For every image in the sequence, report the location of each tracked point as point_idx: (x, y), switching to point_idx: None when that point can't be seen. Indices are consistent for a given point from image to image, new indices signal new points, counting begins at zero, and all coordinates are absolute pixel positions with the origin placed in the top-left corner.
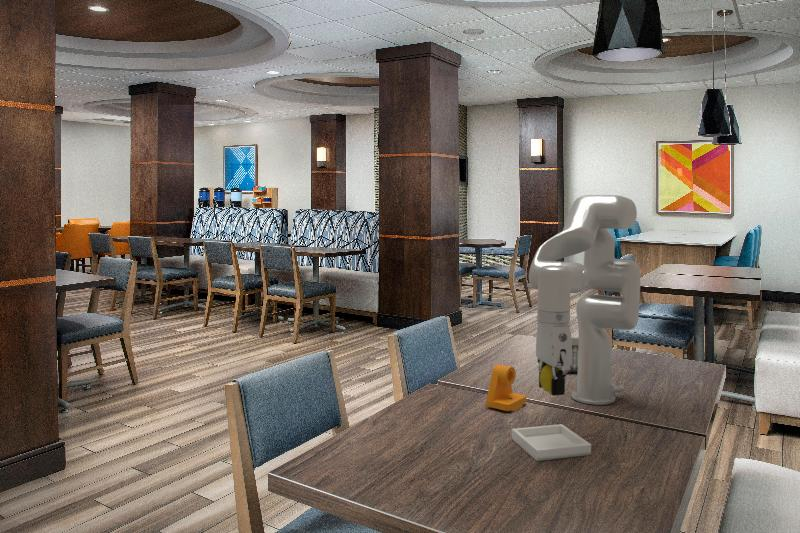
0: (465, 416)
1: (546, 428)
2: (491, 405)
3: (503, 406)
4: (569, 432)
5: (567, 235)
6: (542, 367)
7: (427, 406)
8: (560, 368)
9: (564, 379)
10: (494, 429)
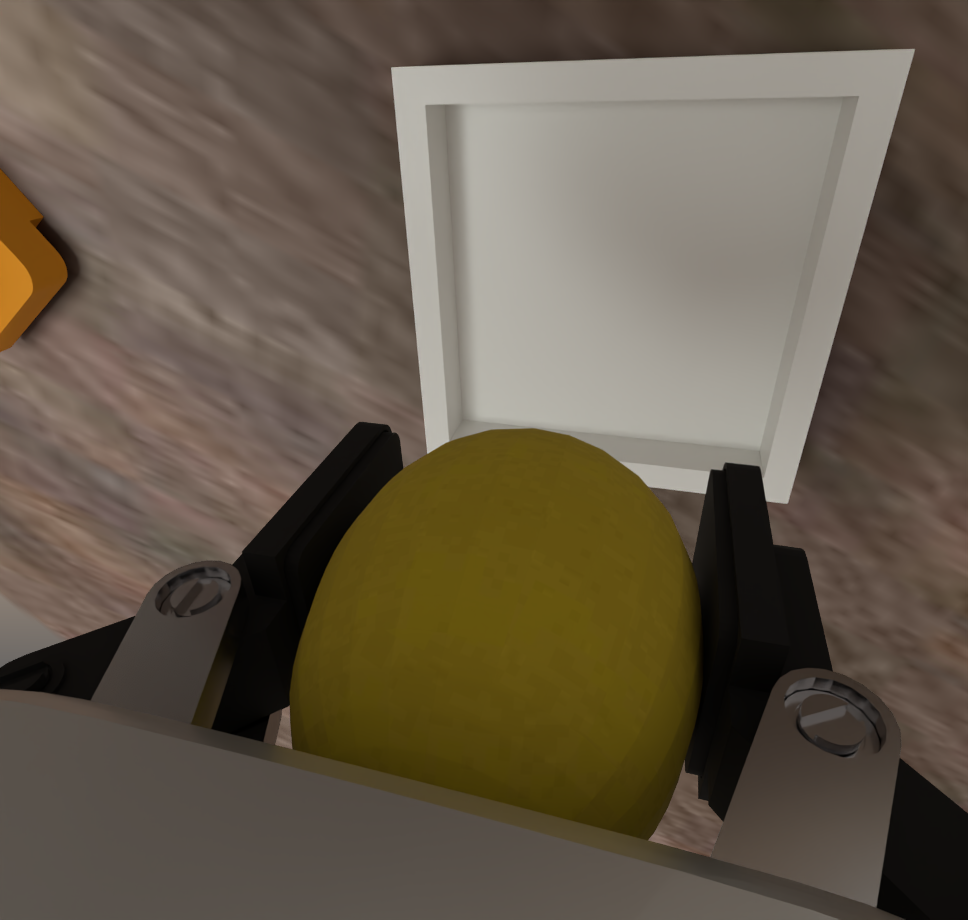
0: (149, 482)
1: (438, 233)
2: (15, 334)
3: (40, 296)
4: (575, 101)
5: None
6: (268, 743)
7: (53, 557)
8: (543, 730)
9: (781, 631)
10: (313, 444)
